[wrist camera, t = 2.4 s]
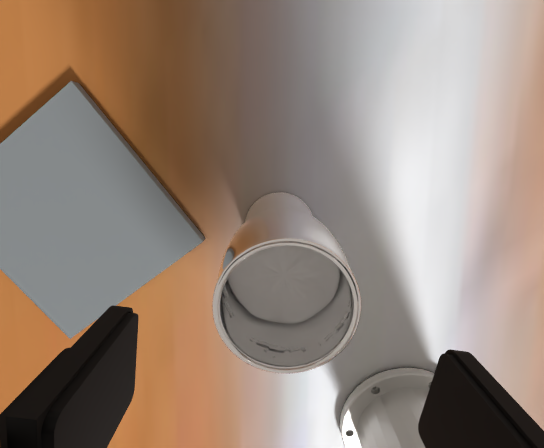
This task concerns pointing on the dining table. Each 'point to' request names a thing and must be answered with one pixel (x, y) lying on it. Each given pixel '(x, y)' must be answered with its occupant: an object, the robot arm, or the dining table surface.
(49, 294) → the grey mat
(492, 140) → the dining table surface
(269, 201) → the beer glass
